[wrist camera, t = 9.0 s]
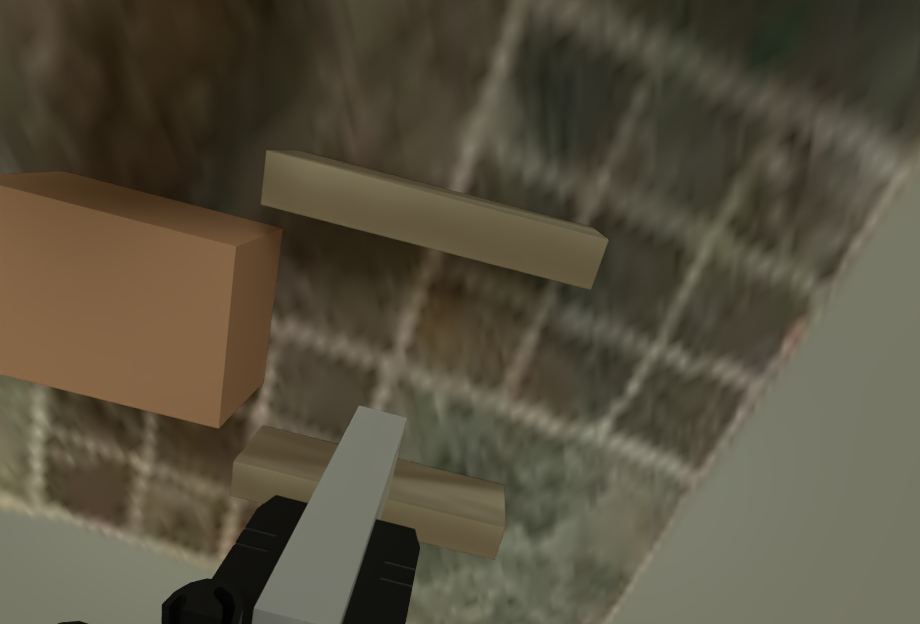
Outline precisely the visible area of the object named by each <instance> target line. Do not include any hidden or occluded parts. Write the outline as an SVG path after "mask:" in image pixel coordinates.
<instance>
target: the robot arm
mask: <svg viewBox="0 0 920 624" xmlns="http://www.w3.org/2000/svg"><path fill="white" fill-rule="evenodd" d="M406 421H407V418H406V417H402V416H398V415H394V414H390V413H386V412H383V411H379V410H375V409H371V408H367V407H363V406H359V407H358V409H357V410H356V412H355V414H354V416H353V418H352V420H351V422H350V424H349V426H348V428H347V430H346V432H345V434H344V435H343V437H342V439H341V441H340V443H339V445H338V447H337V449H336V451H335V453H334V455H333V457H332V459H331V461H330V462H329V464H328V466H327V468H326V470H325V472H324V474H323V476H322V478H321V480H320V482H319V484H318V486H317V487H316V489H315V491H314V493H313V495H312V497H311V499H310V501H309V503H306V502H302V501H298V500H294V499H290V498H286V497H283V496H279V495H275V496H274V497H272V498H271V499H269V500H268V501H267V502H265V503H264V504H263V505H261V506H260V507H259V508H257V510H256V511H255V513H254V515H253V516H252V518H251V519H250V521H249V522H248V524H247V525H246V528H245V530H243V532H242V533H241V535H240V536H239V538H238V539H237V541H236V544H235V545H233V547H232V548H231V550H230V552H229V553H228V555H227V556H226V558H225V559H224V561H223V562H222V564H221V565H220V567H219V569H218V570H217V572H216V573H215V575H214V576H213V578H212V579H203V580H199V581H195V582H191V583H189V584H187V585H185V586H183V587H182V588H180V589H178V590H176V591H175V592H174V593H173V594H172V595H171V596H170V597H169V598H168V599H167V600H166V601H165V602H164V603H163V604H162V624H405V623H406V617H407V612H408V607H409V602H410V597H411V592H412V586H413V581H414V576H415V570H416V566H417V561H418V556H419V550H420V546H419V542H418V538H417V534H416V530H415V529H414V528H410V527H406V526H402V525H398V524H394V523H390V522H386V521H382V520H380V519H381V516H382V513H383V509H384V506H385V503H386V500H387V497H388V493H389V490H390V487H391V483H392V479H393V474H394V470H395V466H396V462H397V458H398V454H399V450H400V446H401V442H402V437H403V433H404V429H405V425H406ZM58 624H87V623H84V622H81V621H75V622H62V623H58Z"/></svg>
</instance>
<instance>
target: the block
mask: <svg viewBox="0 0 920 624" xmlns="http://www.w3.org/2000/svg"><path fill="white" fill-rule="evenodd" d="M282 233H283V228H279V227H276V226H272V225H268V224H264V223H260V222H256V221H253V220H249V219H245V218H241V217H237V216H233V215H230V214H226V213H222V212H218V211H214V210H210V209H207V208H203V207H199V206H195V205H191V204H187V203H184V202H180V201H176V200H172V199H168V198H164V197H161V196H157V195H153V194H149V193H145V192H141V191H138V190H134V189H130V188H126V187H122V186H118V185H115V184H111V183H107V182H103V181H99V180H95V179H92V178H88V177H84V176H80V175H76V174H73V173H69V172H65V171H55V172H35V173H15V174H0V374H1V375H5V376H9V377H13V378H17V379H21V380H25V381H29V382H33V383H37V384H41V385H45V386H49V387H53V388H57V389H61V390H65V391H70V392H74V393H78V394H82V395H86V396H90V397H94V398H98V399H102V400H106V401H110V402H114V403H118V404H122V405H126V406H130V407H134V408H138V409H142V410H146V411H150V412H154V413H158V414H162V415H166V416H170V417H174V418H178V419H182V420H186V421H190V422H194V423H198V424H202V425H206V426H210V427H214V428H218V429H219V428H220V427H221V426H222V425H223V424H224V423H225V422H226V421H227V419H228V418H229V417H230V416H231V415H232V414H233V413H234V412H235V411H236V410H237V409H238V408H239V407H240V406H241V405H242V404H243V403H244V402H245V401H246V400H247V399H248V398H249V397H250V396H251V395H252V394H253V393H254V392H255V391H256V390H257V389H258V388H259V387H260V385H261V384H262V383H263V382H264V375H265V367H266V359H267V351H268V344H269V336H270V328H271V320H272V312H273V304H274V296H275V288H276V281H277V273H278V265H279V257H280V249H281V241H282Z"/></svg>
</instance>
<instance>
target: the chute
mask: <svg viewBox="0 0 920 624" xmlns="http://www.w3.org/2000/svg"><path fill="white" fill-rule="evenodd" d="M261 205H265V206H269V207H273V208H277V209H280V210H284V211H288V212H292V213H296V214H300V215H304V216H308V217H311V218H315V219H319V220H323V221H327V222H331V223H335V224H338V225H342V226H346V227H350V228H354V229H358V230H362V231H366V232H369V233H373V234H377V235H381V236H385V237H389V238H393V239H396V240H400V241H404V242H408V243H412V244H416V245H420V246H423V247H427V248H431V249H435V250H439V251H443V252H447V253H451V254H454V255H458V256H462V257H466V258H470V259H474V260H478V261H481V262H485V263H489V264H493V265H497V266H501V267H505V268H509V269H512V270H516V271H520V272H524V273H528V274H532V275H536V276H539V277H543V278H547V279H551V280H555V281H559V282H563V283H567V284H570V285H574V286H578V287H582V288H586V289H590V290H591V288H592V285H593V283H594V280H595V277H596V274H597V271H598V268H599V266H600V263H601V260H602V257H603V254H604V252H605V249H606V246H607V243H608V239H607V238H606V237H604V236H603V235H602V234H600V233H599V232H598V231H597V230H595V229H594V228H593V227H589V226H585V225H582V224H578V223H574V222H570V221H566V220H563V219H559V218H555V217H551V216H547V215H543V214H540V213H536V212H532V211H528V210H524V209H521V208H517V207H513V206H509V205H505V204H501V203H498V202H494V201H490V200H486V199H482V198H479V197H475V196H471V195H467V194H463V193H459V192H456V191H452V190H448V189H444V188H440V187H437V186H433V185H429V184H425V183H421V182H417V181H414V180H410V179H406V178H402V177H398V176H395V175H391V174H387V173H383V172H379V171H375V170H372V169H368V168H364V167H360V166H356V165H353V164H349V163H345V162H341V161H337V160H333V159H330V158H326V157H322V156H318V155H314V154H311V153H307V152H303V151H299V150H266V159H265V169H264V178H263V188H262V197H261ZM338 445H339V444H335V443H331V442H327V441H323V440H319V439H315V438H311V437H307V436H303V435H299V434H295V433H291V432H287V431H283V430H279V429H275V428H270V427H266V426H262V427H261V428H260V430H259V431H258V432H257V433H256V435H255V436H254V437H253V438H252V439H251V441H250V442H249V443H248V444H247V445H246V447H245V448H244V449H243V450H242V452H241V453H240V454H239V455H238V456H237V458H236V459H235V460H234V461H233V471H232V480H231V490H230V496H234V497H239V498H243V499H247V500H251V501H255V502H259V503H263V504H264V503H265V502H267V501H268V500H269V499H271V498H272V497H274V496H275V495H279V496H283V497H286V498H290V499H294V500H298V501H302V502H306V503H309V501H310V499H311V497H312V495H313V493H314V491H315V489H316V487H317V486H318V484H319V482H320V480H321V478H322V476H323V474H324V472H325V470H326V468H327V466H328V464H329V462H330V461H331V459H332V457H333V455H334V453H335V451H336V449H337V447H338ZM380 520H382V521H386V522H390V523H394V524H398V525H402V526H406V527H410V528H414V529H415V530H416V534H417V538H418V541H419V542H423V543H427V544H431V545H435V546H440V547H444V548H448V549H452V550H456V551H460V552H464V553H468V554H472V555H477V556H481V557H485V558H489V559H493V560H495V557H496V554H497V551H498V549H499V546H500V543H501V540H502V537H503V535H504V532H505V529H506V521H505V497H504V485H501V484H497V483H493V482H489V481H484V480H480V479H476V478H472V477H468V476H464V475H460V474H456V473H452V472H448V471H444V470H440V469H436V468H432V467H428V466H424V465H420V464H416V463H412V462H408V461H404V460H400V459H397V462H396V466H395V470H394V474H393V479H392V483H391V487H390V490H389V493H388V497H387V500H386V503H385V506H384V509H383V513H382V516H381V519H380Z"/></svg>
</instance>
